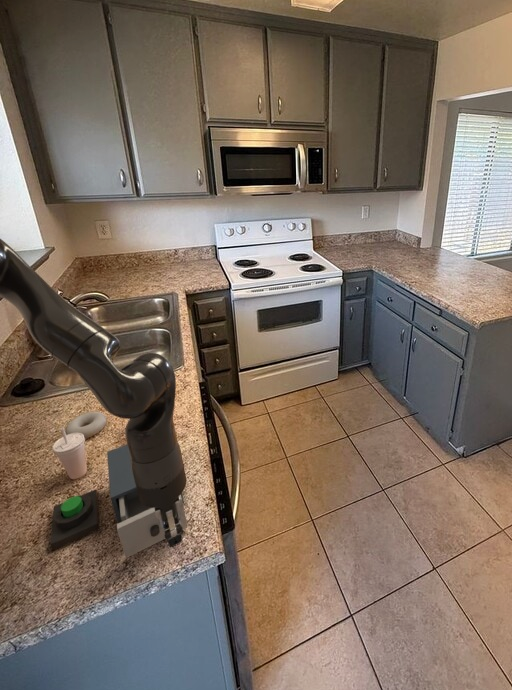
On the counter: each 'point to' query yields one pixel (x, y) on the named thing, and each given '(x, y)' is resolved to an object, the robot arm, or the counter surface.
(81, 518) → the control block
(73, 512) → the button
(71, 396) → the counter surface
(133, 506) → the drawer
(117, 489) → the cabinet
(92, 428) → the donut
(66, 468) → the smoothie
